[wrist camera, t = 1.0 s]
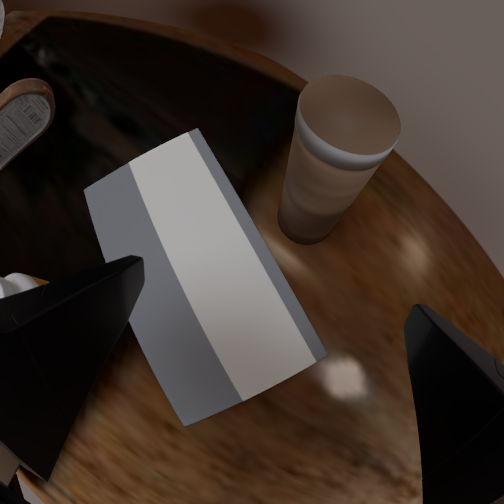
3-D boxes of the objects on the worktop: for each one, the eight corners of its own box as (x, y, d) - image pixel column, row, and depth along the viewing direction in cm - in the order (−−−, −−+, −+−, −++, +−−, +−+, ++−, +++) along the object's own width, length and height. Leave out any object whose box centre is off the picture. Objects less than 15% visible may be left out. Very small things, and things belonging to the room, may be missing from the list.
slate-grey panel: (326, 354, 21) (328, 354, 20) (186, 424, 19) (184, 427, 19) (198, 131, 26) (197, 127, 25) (86, 192, 24) (83, 189, 24)
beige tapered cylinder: (343, 229, 23) (420, 135, 11) (295, 255, 23) (342, 169, 10) (314, 183, 24) (357, 67, 12) (266, 206, 24) (277, 89, 11)
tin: (64, 105, 28) (34, 62, 19) (68, 118, 27) (35, 73, 19) (-16, 176, 26) (-53, 147, 17) (-15, 192, 25) (-56, 164, 17)
